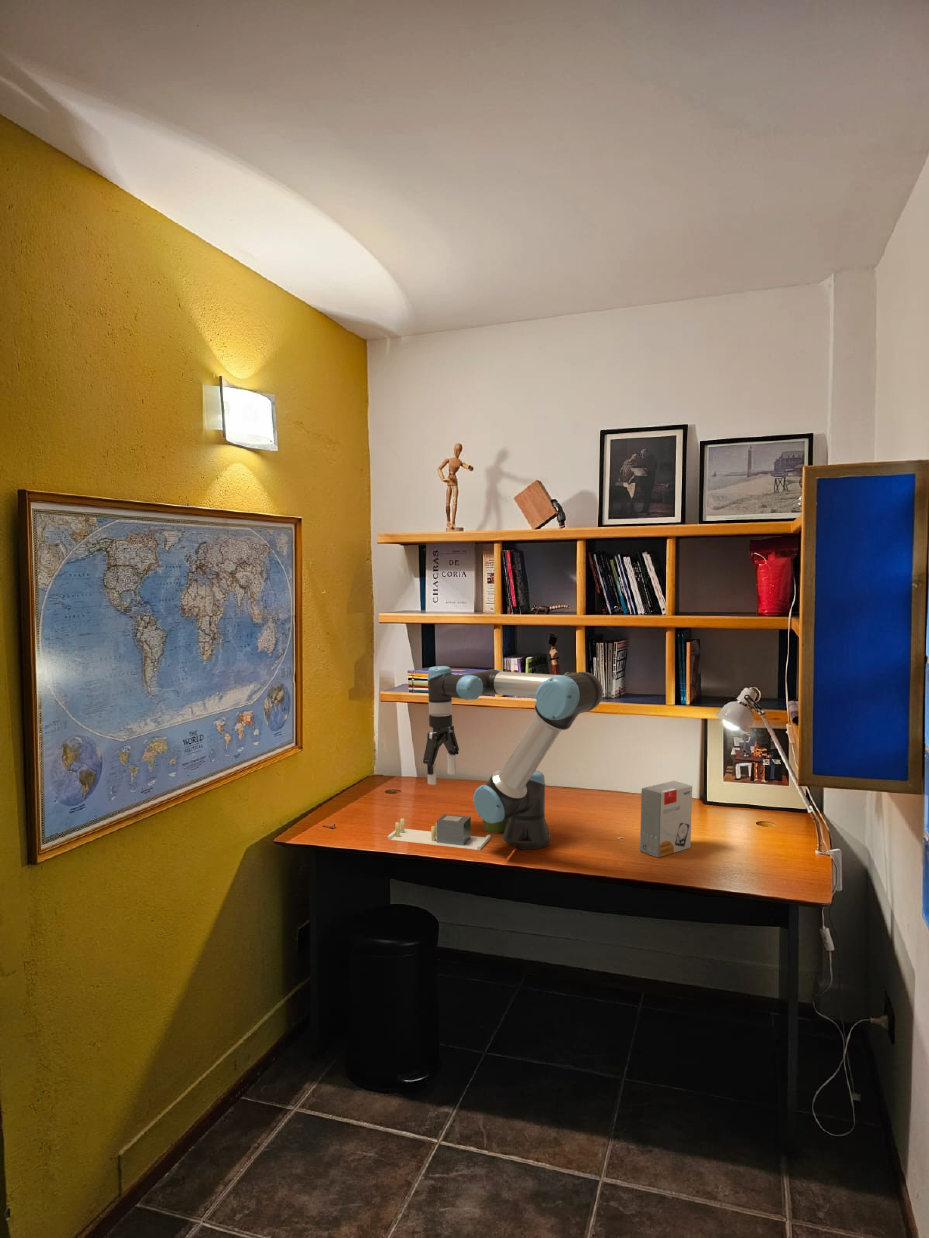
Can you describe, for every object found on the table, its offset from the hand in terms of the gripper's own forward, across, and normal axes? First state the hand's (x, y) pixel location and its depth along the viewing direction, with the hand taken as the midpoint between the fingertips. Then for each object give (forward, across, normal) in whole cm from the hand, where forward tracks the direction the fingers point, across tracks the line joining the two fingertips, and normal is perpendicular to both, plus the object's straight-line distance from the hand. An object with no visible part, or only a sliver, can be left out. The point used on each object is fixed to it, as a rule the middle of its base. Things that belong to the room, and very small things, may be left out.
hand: (442, 779), depth 260 cm
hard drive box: (+20, -19, +68) cm, 73 cm away
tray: (+19, +6, +1) cm, 20 cm away
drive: (+18, +5, +6) cm, 20 cm away
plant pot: (+19, -11, +14) cm, 26 cm away
